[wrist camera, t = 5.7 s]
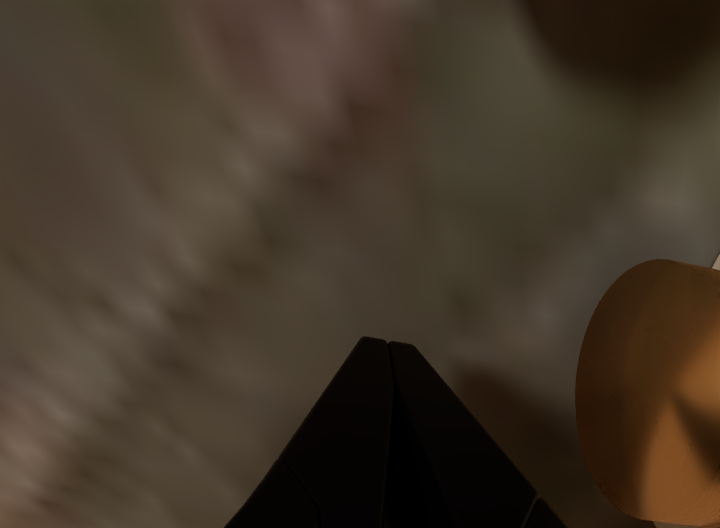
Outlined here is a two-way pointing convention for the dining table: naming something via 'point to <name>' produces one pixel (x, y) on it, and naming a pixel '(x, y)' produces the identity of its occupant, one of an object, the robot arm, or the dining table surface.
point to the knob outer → (655, 393)
